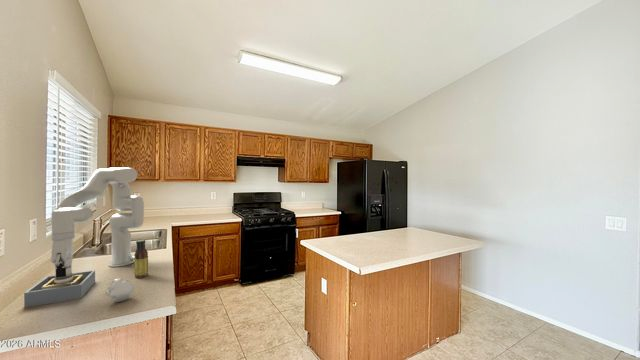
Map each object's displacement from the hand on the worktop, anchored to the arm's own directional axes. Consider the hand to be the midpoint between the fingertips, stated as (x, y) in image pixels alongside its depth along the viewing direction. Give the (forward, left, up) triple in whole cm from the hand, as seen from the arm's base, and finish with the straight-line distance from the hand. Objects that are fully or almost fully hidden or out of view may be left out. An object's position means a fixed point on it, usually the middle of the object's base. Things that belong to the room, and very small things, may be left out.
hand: (63, 274), depth 120 cm
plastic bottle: (0, 0, -7) cm, 7 cm away
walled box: (0, 0, -9) cm, 9 cm away
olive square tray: (0, 0, -9) cm, 9 cm away
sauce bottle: (-29, -8, -9) cm, 31 cm away
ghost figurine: (-25, +21, -9) cm, 34 cm away
